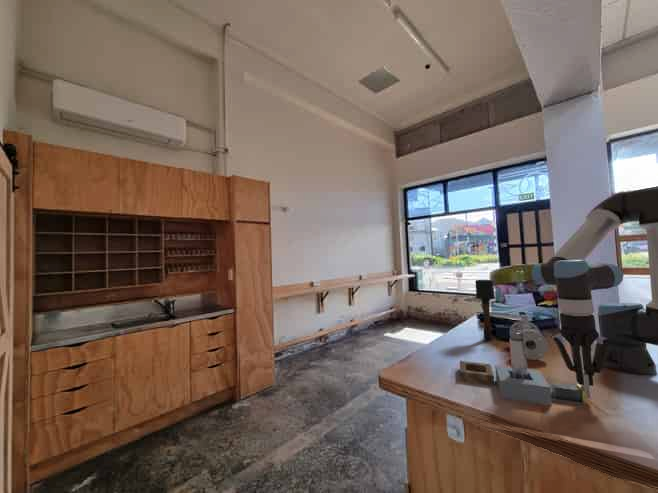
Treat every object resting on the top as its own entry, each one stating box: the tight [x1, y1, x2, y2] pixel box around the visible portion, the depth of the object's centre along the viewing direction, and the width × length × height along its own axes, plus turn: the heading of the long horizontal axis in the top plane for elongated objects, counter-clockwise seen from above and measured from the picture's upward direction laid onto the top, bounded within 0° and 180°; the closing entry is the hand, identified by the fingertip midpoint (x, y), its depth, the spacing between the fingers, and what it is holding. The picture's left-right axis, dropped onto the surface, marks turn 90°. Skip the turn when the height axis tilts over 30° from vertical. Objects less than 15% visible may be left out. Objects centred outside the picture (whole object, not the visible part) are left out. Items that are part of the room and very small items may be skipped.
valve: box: [508, 311, 550, 361], centre depth 120 cm, size 22×12×15 cm, turn 151°
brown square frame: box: [459, 360, 495, 386], centre depth 95 cm, size 10×10×4 cm
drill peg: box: [509, 332, 528, 380], centre depth 84 cm, size 4×4×18 cm
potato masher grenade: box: [475, 279, 496, 342], centre depth 137 cm, size 8×9×30 cm
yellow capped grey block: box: [551, 382, 588, 406], centre depth 79 cm, size 7×4×4 cm, turn 65°
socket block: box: [495, 365, 585, 407], centre depth 82 cm, size 20×12×6 cm, turn 65°
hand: (586, 396), depth 77 cm, fingers closed
